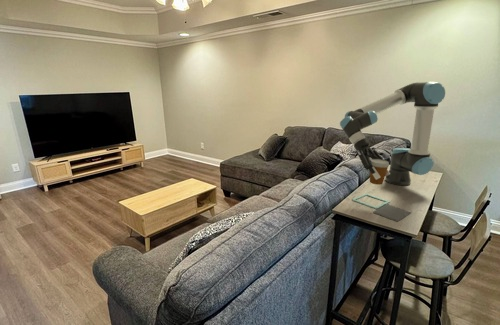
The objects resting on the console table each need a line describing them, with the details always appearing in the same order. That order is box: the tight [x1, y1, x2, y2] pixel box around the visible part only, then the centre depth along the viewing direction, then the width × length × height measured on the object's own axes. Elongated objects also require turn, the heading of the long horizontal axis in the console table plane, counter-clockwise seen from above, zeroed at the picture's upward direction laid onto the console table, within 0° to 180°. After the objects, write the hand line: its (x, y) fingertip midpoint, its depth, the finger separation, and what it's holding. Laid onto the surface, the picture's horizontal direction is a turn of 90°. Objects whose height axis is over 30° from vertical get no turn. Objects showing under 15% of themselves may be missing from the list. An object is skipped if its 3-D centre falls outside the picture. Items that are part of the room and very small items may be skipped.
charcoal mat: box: [372, 203, 412, 223], centre depth 134 cm, size 15×12×1 cm
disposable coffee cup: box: [369, 158, 390, 186], centre depth 140 cm, size 10×10×12 cm
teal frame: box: [351, 193, 391, 210], centre depth 148 cm, size 14×14×1 cm
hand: (383, 176), depth 138 cm, fingers closed on disposable coffee cup, 9 cm apart
